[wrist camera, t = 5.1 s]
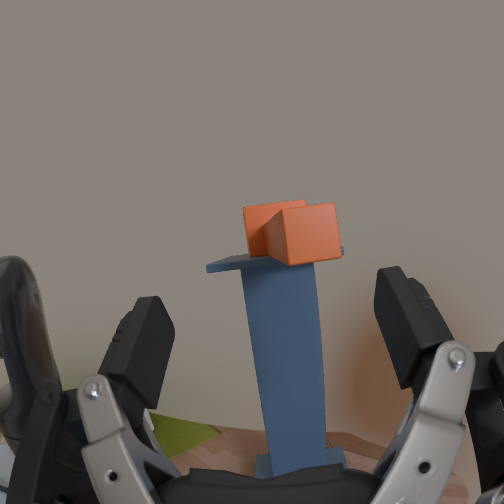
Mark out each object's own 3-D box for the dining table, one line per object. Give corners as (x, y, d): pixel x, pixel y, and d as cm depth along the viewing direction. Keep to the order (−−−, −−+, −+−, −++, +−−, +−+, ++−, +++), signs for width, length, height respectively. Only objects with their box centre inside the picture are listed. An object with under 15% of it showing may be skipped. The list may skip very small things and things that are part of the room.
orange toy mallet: (257, 270, 12) (243, 174, 11) (248, 254, 28) (243, 214, 28) (369, 253, 12) (355, 164, 11) (298, 247, 28) (292, 208, 28)
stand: (249, 516, 21) (190, 267, 20) (258, 461, 32) (222, 257, 31) (353, 506, 20) (358, 244, 19) (341, 452, 31) (331, 242, 30)
